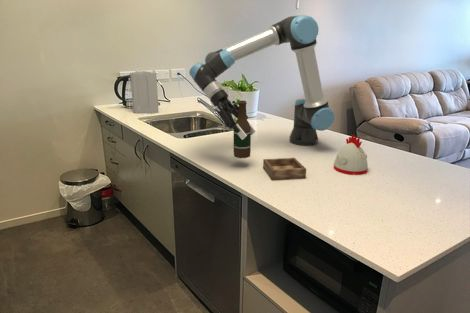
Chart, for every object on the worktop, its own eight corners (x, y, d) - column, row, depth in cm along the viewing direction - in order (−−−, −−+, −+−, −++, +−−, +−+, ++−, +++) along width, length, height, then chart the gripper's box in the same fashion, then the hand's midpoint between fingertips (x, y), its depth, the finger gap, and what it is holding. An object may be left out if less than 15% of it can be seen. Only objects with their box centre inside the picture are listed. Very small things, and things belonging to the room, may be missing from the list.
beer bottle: (252, 153, 160) (254, 100, 152) (247, 159, 153) (248, 103, 145) (236, 152, 162) (236, 98, 155) (230, 157, 155) (230, 102, 148)
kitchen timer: (349, 177, 147) (354, 142, 142) (326, 166, 159) (330, 133, 154) (374, 171, 153) (379, 137, 148) (350, 162, 165) (354, 130, 160)
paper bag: (128, 111, 266) (124, 72, 257) (146, 108, 276) (143, 71, 266) (140, 115, 253) (137, 74, 244) (159, 112, 262) (156, 73, 253)
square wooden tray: (293, 166, 158) (294, 157, 157) (305, 178, 145) (306, 168, 144) (263, 168, 156) (263, 159, 155) (272, 180, 143) (272, 170, 142)
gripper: (223, 96, 166) (254, 135, 163) (197, 103, 149) (231, 146, 147) (233, 85, 162) (265, 125, 159) (208, 91, 145) (243, 136, 142)
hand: (249, 135), depth 153 cm, fingers closed on beer bottle, 8 cm apart
